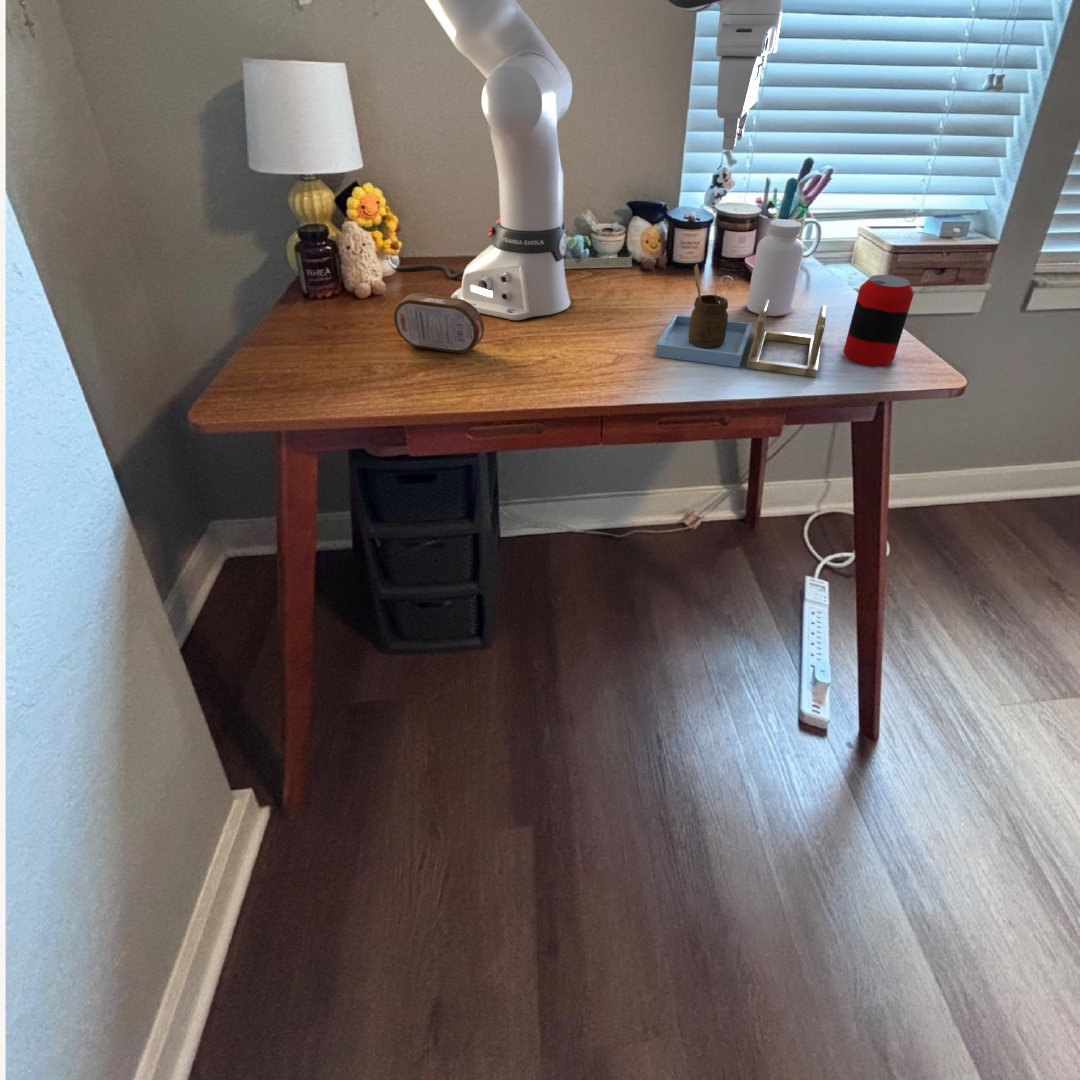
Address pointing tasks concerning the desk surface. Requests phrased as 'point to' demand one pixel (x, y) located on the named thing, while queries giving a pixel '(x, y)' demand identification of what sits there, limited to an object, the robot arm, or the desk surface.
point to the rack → (763, 334)
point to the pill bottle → (776, 268)
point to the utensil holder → (708, 318)
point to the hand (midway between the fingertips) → (732, 144)
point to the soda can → (878, 320)
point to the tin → (439, 323)
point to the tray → (679, 347)
